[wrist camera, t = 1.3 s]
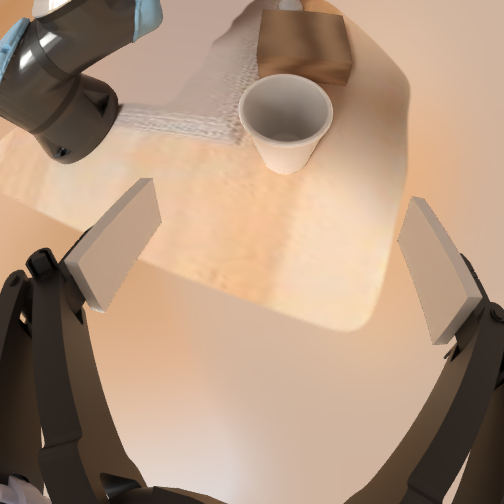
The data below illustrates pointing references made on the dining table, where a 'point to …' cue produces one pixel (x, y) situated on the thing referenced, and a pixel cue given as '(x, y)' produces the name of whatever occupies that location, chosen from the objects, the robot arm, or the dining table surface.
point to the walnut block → (304, 46)
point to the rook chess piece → (291, 5)
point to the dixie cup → (285, 119)
